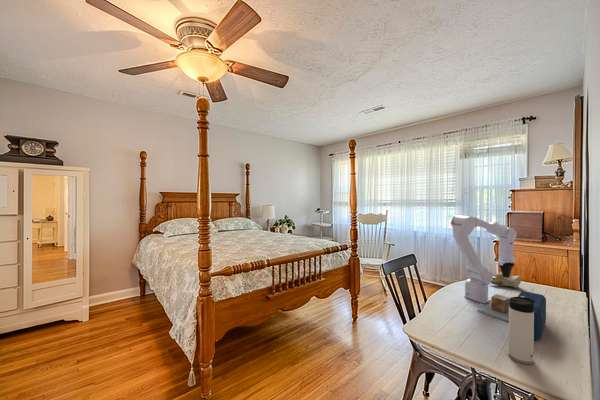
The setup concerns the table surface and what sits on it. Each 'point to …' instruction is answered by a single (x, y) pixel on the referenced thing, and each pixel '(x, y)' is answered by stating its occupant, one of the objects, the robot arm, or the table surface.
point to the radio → (537, 312)
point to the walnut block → (500, 303)
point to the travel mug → (521, 329)
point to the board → (494, 312)
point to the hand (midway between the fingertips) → (506, 276)
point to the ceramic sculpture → (506, 280)
